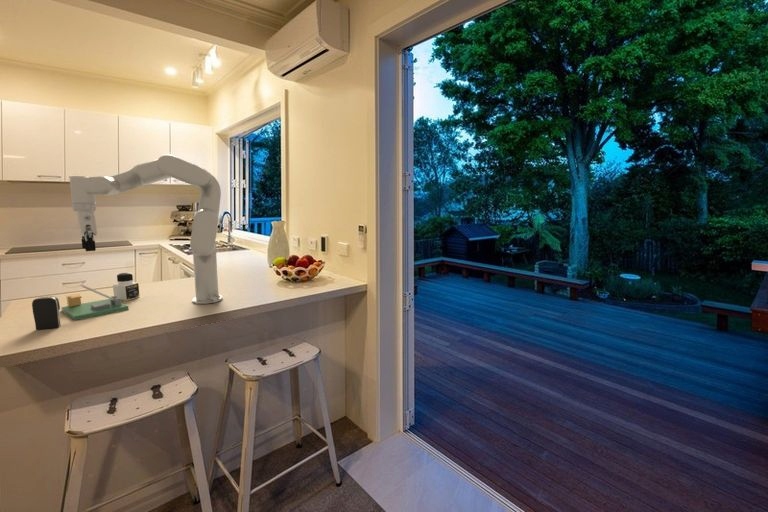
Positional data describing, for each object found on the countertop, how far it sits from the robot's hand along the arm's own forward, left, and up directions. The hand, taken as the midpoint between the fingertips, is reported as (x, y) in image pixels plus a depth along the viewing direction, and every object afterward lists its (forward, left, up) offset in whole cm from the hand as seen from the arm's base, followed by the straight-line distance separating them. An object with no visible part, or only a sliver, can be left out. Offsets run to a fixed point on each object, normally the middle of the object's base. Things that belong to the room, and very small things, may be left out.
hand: (89, 249), depth 152 cm
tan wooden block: (+6, +5, -24) cm, 25 cm away
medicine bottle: (+10, -15, -26) cm, 32 cm away
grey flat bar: (-4, -1, -19) cm, 19 cm away
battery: (-13, +17, -26) cm, 34 cm away
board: (0, 0, -26) cm, 26 cm away
